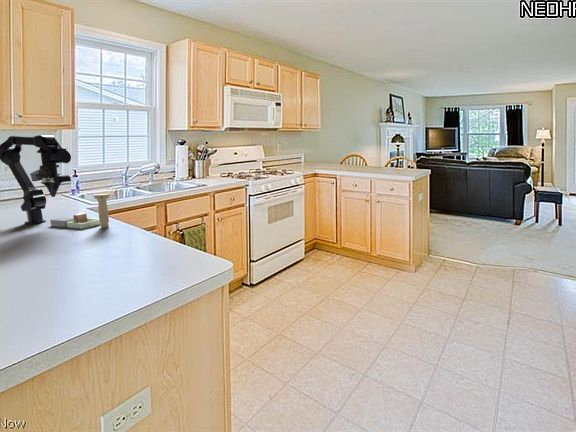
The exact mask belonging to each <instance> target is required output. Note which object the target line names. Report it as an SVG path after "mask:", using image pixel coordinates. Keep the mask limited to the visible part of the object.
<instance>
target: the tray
mask: <svg viewBox="0 0 576 432" xmlns="http://www.w3.org/2000/svg"><path fill="white" fill-rule="evenodd" d="M97 226H101V224H100V220H99V218H90V217H89V218H88V217H87V222H86V223H74V221H69V222H67V227H66V228H68V229H69V228H70V229H77V230H85V229H88V228H89V229H90V228H92V227H97Z"/></svg>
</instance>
